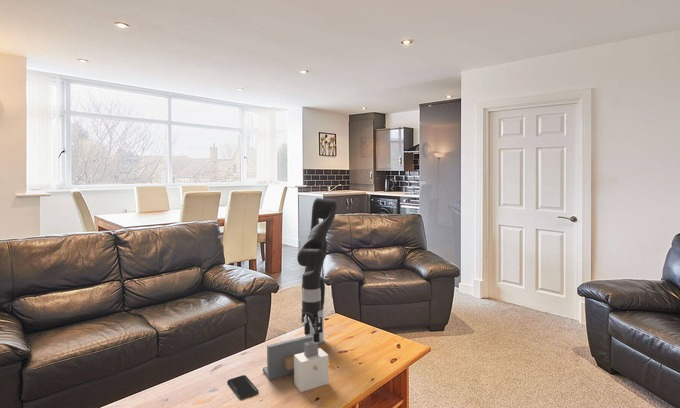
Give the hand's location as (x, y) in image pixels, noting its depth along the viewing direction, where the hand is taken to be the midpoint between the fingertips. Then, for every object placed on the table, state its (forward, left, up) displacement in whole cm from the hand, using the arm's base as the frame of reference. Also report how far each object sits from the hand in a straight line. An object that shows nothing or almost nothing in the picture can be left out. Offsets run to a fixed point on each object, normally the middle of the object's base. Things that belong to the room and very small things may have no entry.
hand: (311, 337), depth 149 cm
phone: (-11, -25, -20) cm, 34 cm away
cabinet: (0, 0, -19) cm, 19 cm away
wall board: (-12, -4, -19) cm, 23 cm away
